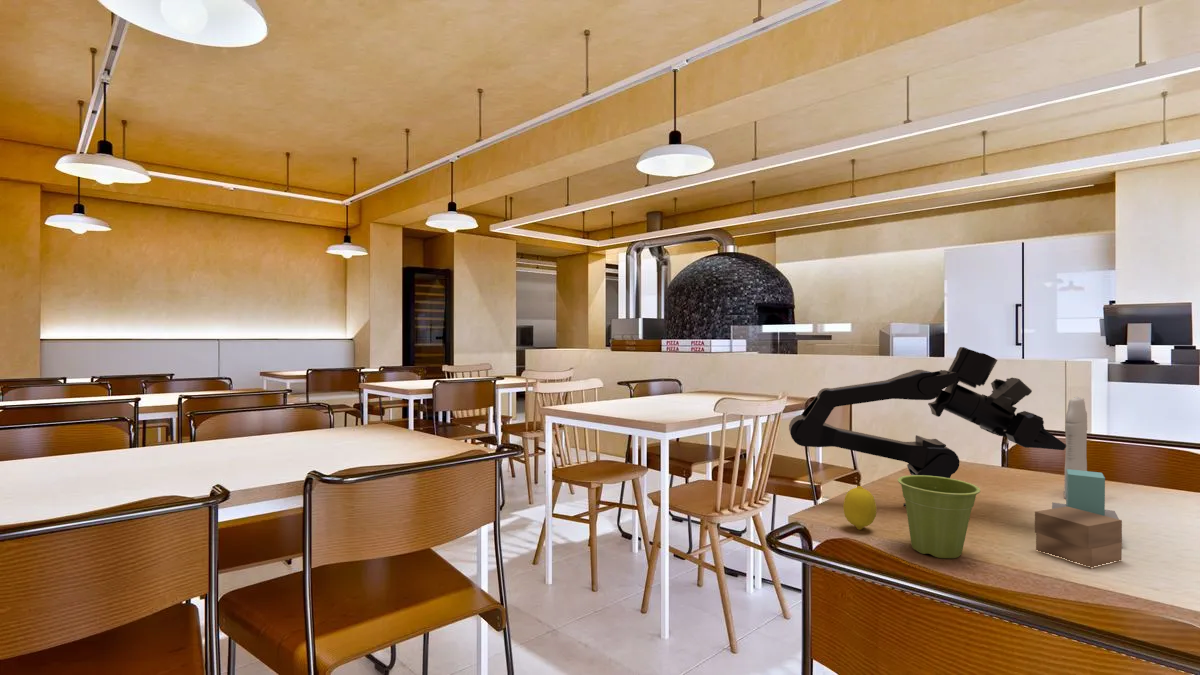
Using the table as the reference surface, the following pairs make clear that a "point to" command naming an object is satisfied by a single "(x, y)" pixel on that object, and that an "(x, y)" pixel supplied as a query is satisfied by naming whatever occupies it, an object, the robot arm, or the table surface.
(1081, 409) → the tall pale column
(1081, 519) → the tower upper
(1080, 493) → the teal block
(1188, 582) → the table surface
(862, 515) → the lemon
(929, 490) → the plant pot
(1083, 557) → the tower lower
